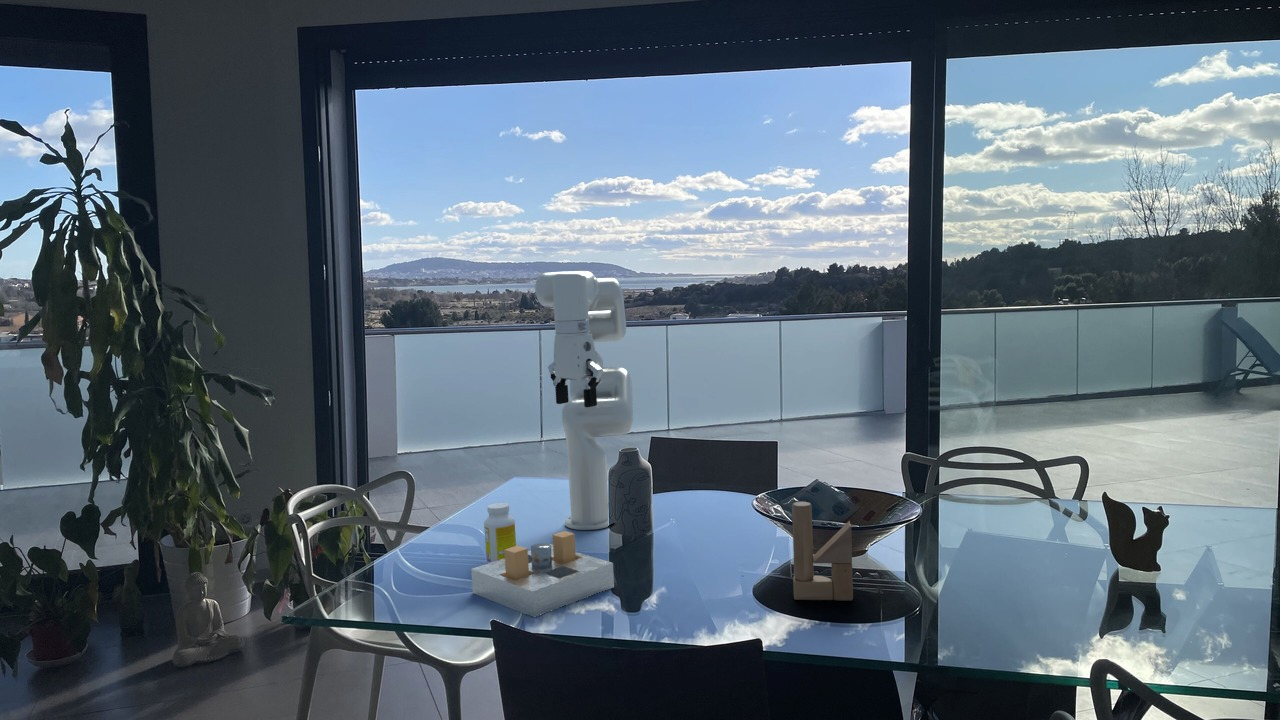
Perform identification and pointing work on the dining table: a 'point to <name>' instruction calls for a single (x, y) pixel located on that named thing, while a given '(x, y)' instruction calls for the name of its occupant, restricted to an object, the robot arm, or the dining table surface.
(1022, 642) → the dining table surface
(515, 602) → the grey peg hole board
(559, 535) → the tan square prism
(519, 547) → the tall tan wooden post
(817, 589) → the wooden block structure
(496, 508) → the supplement bottle
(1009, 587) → the dining table surface
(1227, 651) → the dining table surface
